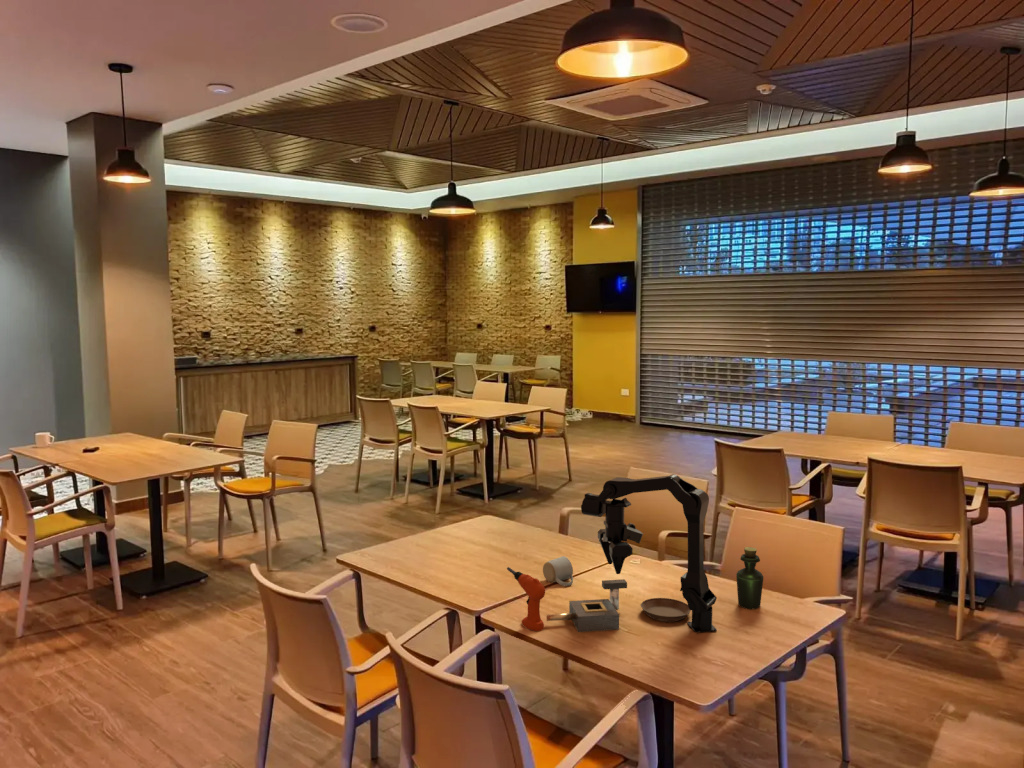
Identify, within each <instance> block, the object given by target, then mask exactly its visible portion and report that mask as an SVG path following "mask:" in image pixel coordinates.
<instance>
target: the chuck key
mask: <svg viewBox="0 0 1024 768" xmlns="http://www.w3.org/2000/svg"><path fill="white" fill-rule="evenodd" d="M601 587H602V588H603V589H604V590H609V601H610V602H611V603H612V605H613V606H614V608H615V609H616V611H618V610H619V609H620V590H621V589H628V581H626V579H611V580H610V579H605V580H604V579H603V580H601Z"/></svg>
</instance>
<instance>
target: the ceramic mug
mask: <svg viewBox="0 0 1024 768" xmlns="http://www.w3.org/2000/svg"><path fill="white" fill-rule="evenodd" d="M573 573H574V568H573V565H572V562H571V560H570V559H569V557H568V556H567V557H566V556H564V555H563V556H562V555H561V556H559V557H558V558H553V559H551V560H548V561H546V562H545V563H544V564H543V566H542V574H543V577H544V579H545V580H546V581H547V582H549V583H558V584H559V585H560V586H562V587H570V586H571V585H573V581H574V576H573V575H574V574H573ZM569 579H570V581H569V582H566V580H569Z"/></svg>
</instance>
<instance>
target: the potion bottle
mask: <svg viewBox="0 0 1024 768" xmlns="http://www.w3.org/2000/svg"><path fill="white" fill-rule="evenodd" d="M743 550H744V553H743V554H741V556H740V558H739V559H740V560H741V561H742V562H743V565H744V567H743V568H741V569H739V570H738V571H737V572H736V574H735V575H736V590H737V602H738V606H739V605H740V607H741V608H742V609H746V608H747V609H746V610H757V609H756V608H758V609H759V608H760V607H761V603H762V593H763V586H764V575H763V573H762V572H761V571H759V570H758V569H756V566H757V564H758V563H760V562H761V559H760V556H759V555H756V554H757V551H758V549H757V548H756V547H751V546H746V547H744V549H743Z"/></svg>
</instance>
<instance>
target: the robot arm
mask: <svg viewBox="0 0 1024 768" xmlns="http://www.w3.org/2000/svg"><path fill="white" fill-rule="evenodd" d="M602 488H603V489H602V490H601V492H600V493H599V494H594V493H590V492H587V493H585V494H584V498H583V500H582V503H581V505H580V509H581V513H582V514H583V515H586V516H591V517H597V518H601V517H603V515H605V520H603V525H604V526H605V527H604V528H600V529H599V530H598V531H597V539H598V542H599V544H600V547H601V549H602V551H603V555H604V557H605V558H606V561H607V564H608V565H613V568H614V571H615V574H616V575H620V574H621V572H622V569H623V565H624V562H625V560H626V559H627V558H628V557H631V555H633V552H634V551H633V549H634V548H633V547H632V546H631V545H630V544H629V543H628V540H629V541H633V542H635V543H636V544H640V543H641V540H642V538H643V536H644V533H643V532H642V531H640V530H639V529H638V528H636V525H635V523H631V522H629V523H628V524H626V523H625V508H628V507H630V506H632V503H631V502H630V501H629V499H628V498H626V497H625V496H628V495H631V494H636V493H637V494H638V493H647V492H656V491H657V492H658V491H668V492H669V493H670V494H671V495H672V496H673V497H674V499H676V501H677V502H679V503H680V504H681V505H682V509H683V514H684V518H685V519H686V522H687V572H685V573H684V574H683V575H682V576H680V585H681V586H680V589H679V591H680V592H682V597H683V599H685V601H686V604H687V605H688V606H689V609H690V610H691V621H687V623H686V624H687V625H688V627H690V629H692V630H693V632H695V633H704V632H705V633H706V632H707V633H708V632H717V628H716V627H715V626H714V625H713V605H714V604H715V603H716V601H717V596H716V594H714V592H713V591H712V590H711V588H710V586H709V581H708V576H707V574H706V572H705V567H704V566H705V565H704V563H705V562H704V561H705V557H704V554H705V550H704V548H705V547H704V536H705V535H704V533H705V531H704V530H705V529H704V525H705V524H704V523H705V518H706V516H707V512H708V508H709V503H710V498H709V494H708V493H707V492H706V491H704V489H700V488H697V487H696V486H695V485H694V484H692V483H691V482H689V481H686V480H684V479H683V478H681V477H680V476H679V475H677V474H670V475H663V476H653V477H646V478H635V479H634V478H630V477H619V476H618V477H614V478H612V479H610V480H607V481H605V483H604V484H603V487H602ZM622 497H624V498H622ZM619 498H622V499H619Z"/></svg>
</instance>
